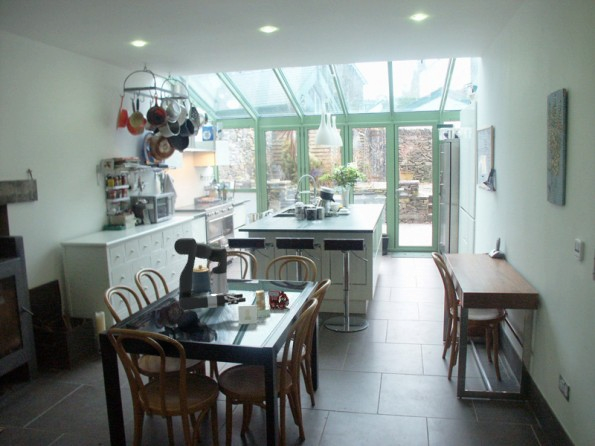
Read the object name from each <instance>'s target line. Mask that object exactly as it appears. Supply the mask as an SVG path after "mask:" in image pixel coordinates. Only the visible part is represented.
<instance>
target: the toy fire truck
mask: <svg viewBox="0 0 595 446" xmlns="http://www.w3.org/2000/svg"><path fill="white" fill-rule="evenodd" d="M267 295H268V304H269V309H271V310H275V309H276V308H277V307H278V309H279V310H284V309H285V308H286V307H287V306H289V305H290V299H289V297H288V295H287V293H285V291H284V290H269V291H268V294H267Z"/></svg>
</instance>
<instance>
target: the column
mask: <svg viewBox="0 0 595 446" xmlns="http://www.w3.org/2000/svg"><path fill="white" fill-rule="evenodd" d="M255 302H256V303H255V304H256V305H257V309H258V310H262V309H266V307H267V306H266V293H265V291H264V289H259V290H255Z"/></svg>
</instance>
